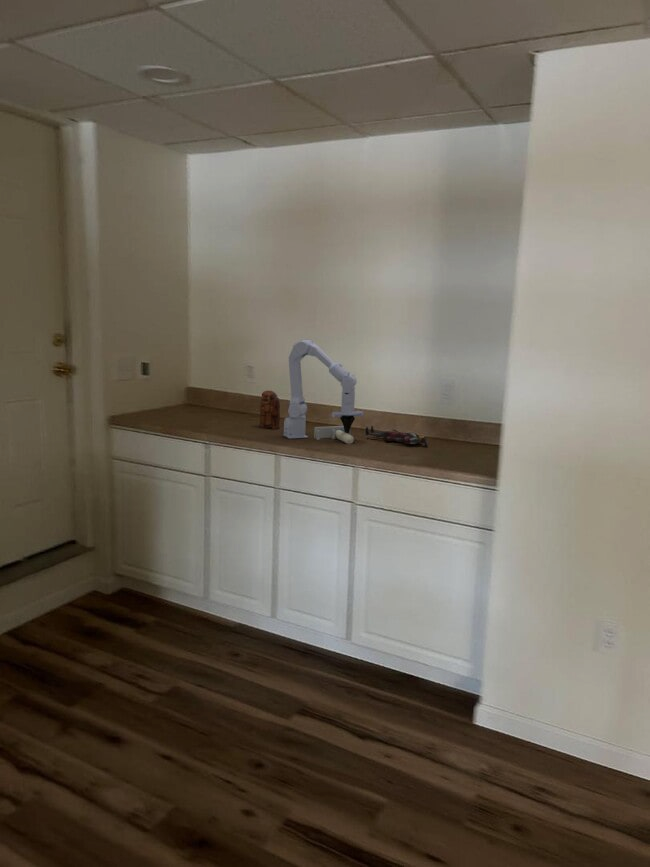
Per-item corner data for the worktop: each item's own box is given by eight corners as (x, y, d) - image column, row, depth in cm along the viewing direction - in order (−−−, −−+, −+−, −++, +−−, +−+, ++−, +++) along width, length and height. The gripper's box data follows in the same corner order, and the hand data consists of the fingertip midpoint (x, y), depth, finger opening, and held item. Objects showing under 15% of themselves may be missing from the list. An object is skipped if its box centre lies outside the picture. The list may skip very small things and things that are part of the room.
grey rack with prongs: (317, 439, 293) (317, 429, 292) (314, 438, 297) (314, 427, 296) (350, 438, 300) (351, 427, 299) (347, 436, 303) (347, 425, 302)
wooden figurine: (255, 426, 319) (255, 390, 315) (263, 425, 324) (263, 389, 321) (275, 430, 313) (275, 392, 309) (282, 428, 318) (283, 391, 315)
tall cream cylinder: (355, 440, 289) (351, 433, 287) (347, 445, 288) (343, 438, 286) (344, 435, 300) (340, 428, 298) (337, 440, 299) (333, 433, 297)
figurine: (376, 424, 307) (434, 432, 290) (375, 436, 308) (433, 445, 291) (361, 428, 296) (421, 436, 279) (361, 440, 297) (420, 449, 280)
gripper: (336, 404, 283) (335, 435, 286) (366, 403, 289) (365, 433, 291) (330, 401, 289) (329, 431, 292) (359, 400, 295) (358, 430, 298)
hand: (346, 432), depth 292 cm, fingers closed
